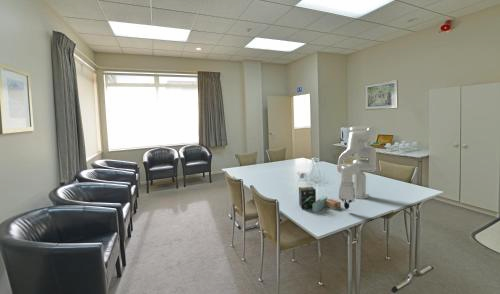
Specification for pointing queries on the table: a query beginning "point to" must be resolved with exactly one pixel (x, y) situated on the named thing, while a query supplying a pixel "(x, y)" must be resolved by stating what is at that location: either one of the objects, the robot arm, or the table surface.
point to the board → (319, 204)
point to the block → (332, 204)
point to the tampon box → (307, 197)
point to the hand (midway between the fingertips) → (346, 208)
